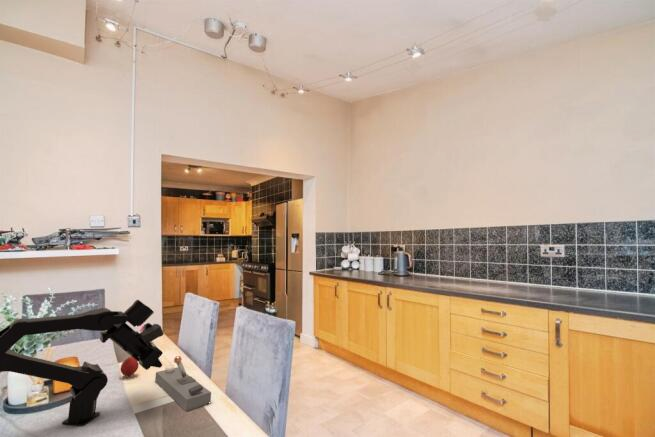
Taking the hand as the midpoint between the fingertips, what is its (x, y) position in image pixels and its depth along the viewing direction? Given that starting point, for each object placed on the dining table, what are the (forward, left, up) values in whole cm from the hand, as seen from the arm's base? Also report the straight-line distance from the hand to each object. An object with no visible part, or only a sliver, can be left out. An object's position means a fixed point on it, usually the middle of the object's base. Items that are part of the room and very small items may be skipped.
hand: (161, 366), depth 110 cm
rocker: (-2, -14, -7) cm, 15 cm away
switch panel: (+6, -5, -10) cm, 13 cm away
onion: (+15, +20, -11) cm, 27 cm away
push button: (+13, +3, -7) cm, 15 cm away
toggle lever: (+6, -6, -5) cm, 10 cm away
